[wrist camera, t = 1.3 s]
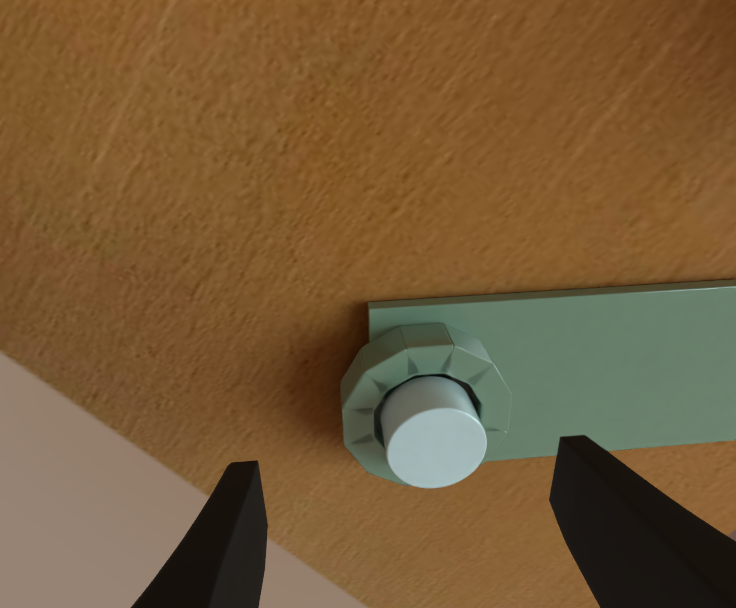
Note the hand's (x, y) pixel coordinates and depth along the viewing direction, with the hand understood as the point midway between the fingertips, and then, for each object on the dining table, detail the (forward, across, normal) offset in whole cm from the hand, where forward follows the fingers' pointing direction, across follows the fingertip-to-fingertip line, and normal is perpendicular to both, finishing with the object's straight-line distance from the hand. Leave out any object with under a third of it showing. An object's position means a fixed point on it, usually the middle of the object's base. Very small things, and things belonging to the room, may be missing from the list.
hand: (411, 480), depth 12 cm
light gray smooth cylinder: (+7, -2, +3) cm, 8 cm away
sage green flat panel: (+9, -9, +3) cm, 13 cm away
